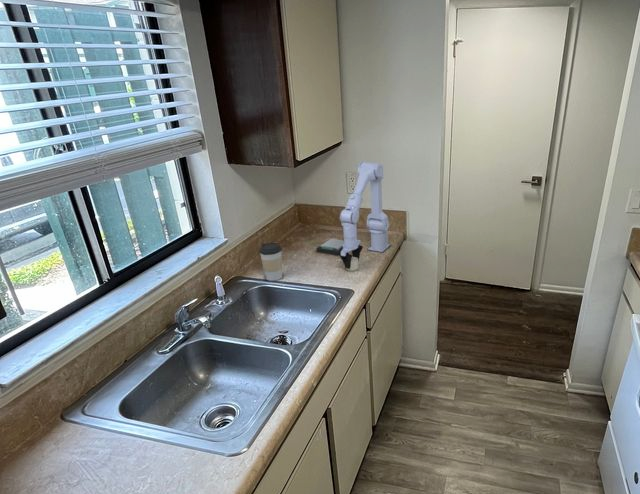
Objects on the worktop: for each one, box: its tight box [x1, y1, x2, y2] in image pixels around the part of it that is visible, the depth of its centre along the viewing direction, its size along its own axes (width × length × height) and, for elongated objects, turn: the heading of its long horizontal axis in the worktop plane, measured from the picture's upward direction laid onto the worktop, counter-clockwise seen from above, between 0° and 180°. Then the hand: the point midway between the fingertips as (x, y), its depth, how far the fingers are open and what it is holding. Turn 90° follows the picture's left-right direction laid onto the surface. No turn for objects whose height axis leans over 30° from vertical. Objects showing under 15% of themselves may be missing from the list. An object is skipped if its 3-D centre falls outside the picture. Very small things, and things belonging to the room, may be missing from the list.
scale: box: [316, 238, 344, 256], centre depth 214 cm, size 12×12×3 cm
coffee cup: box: [258, 242, 283, 282], centre depth 184 cm, size 9×9×15 cm
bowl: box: [345, 256, 359, 272], centre depth 193 cm, size 6×6×4 cm
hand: (352, 264), depth 193 cm, fingers open, 7 cm apart
